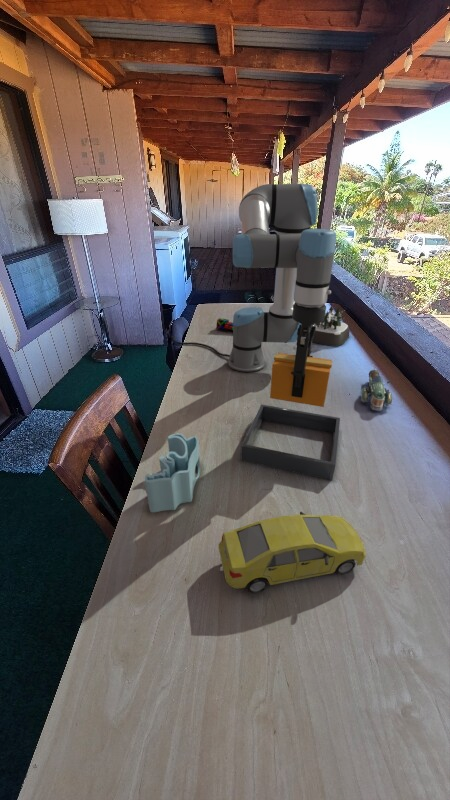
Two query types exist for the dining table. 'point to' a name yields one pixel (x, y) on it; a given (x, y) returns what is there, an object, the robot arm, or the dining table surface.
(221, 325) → the sculpture
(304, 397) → the orange striped block
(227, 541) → the toy car
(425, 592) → the dining table surface
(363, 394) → the hoverbike
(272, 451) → the rectangular frame
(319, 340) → the miniature diorama
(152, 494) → the squiggly pen holder
